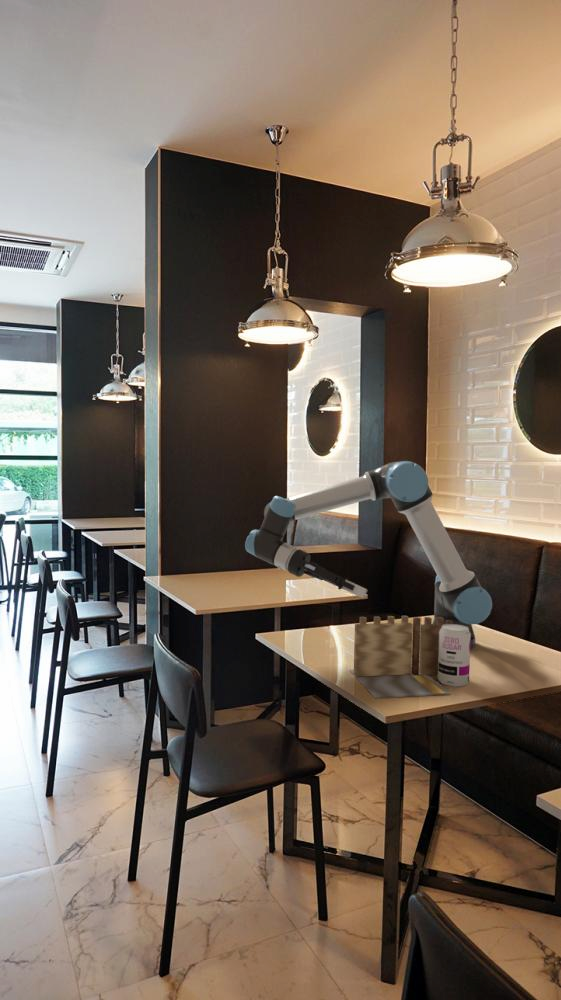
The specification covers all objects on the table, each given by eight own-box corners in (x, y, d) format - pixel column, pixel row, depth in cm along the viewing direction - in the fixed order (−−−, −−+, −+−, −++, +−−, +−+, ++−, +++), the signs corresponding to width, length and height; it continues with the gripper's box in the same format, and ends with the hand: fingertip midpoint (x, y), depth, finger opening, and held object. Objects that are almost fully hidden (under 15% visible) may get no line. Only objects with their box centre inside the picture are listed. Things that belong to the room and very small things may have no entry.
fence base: (441, 667, 193) (443, 612, 192) (478, 693, 171) (480, 631, 170) (349, 670, 187) (351, 614, 186) (375, 698, 166) (377, 634, 165)
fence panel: (408, 672, 185) (410, 615, 184) (411, 674, 184) (412, 616, 183) (353, 674, 182) (355, 616, 181) (355, 676, 181) (356, 618, 180)
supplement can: (463, 677, 184) (465, 623, 183) (472, 687, 175) (475, 631, 175) (434, 677, 183) (436, 623, 183) (442, 687, 175) (444, 630, 174)
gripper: (294, 575, 201) (363, 609, 192) (280, 567, 189) (354, 602, 180) (305, 553, 202) (374, 585, 193) (292, 543, 190) (366, 577, 181)
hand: (364, 593), depth 186 cm, fingers closed
